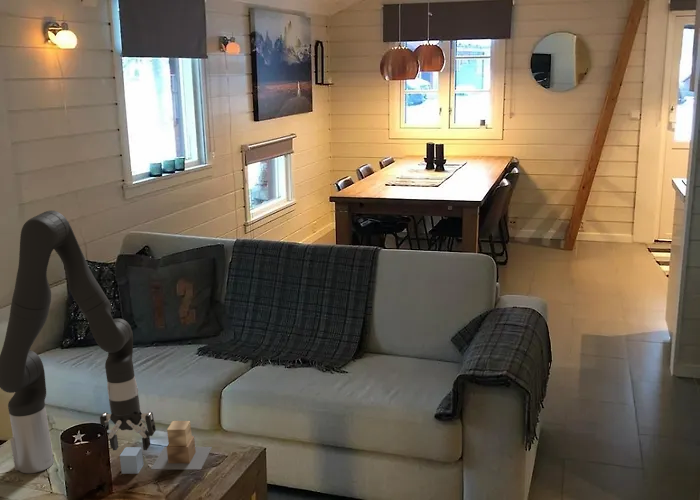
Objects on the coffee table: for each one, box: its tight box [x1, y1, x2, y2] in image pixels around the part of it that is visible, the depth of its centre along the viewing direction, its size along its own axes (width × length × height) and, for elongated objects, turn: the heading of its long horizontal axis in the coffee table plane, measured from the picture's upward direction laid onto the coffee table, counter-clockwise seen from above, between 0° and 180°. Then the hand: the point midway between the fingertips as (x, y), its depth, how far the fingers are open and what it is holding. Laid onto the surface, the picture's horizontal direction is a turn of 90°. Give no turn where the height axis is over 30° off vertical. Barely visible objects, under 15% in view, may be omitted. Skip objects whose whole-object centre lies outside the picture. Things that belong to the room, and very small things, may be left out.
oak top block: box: [167, 420, 193, 446], centre depth 206 cm, size 5×5×5 cm
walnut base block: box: [166, 435, 196, 463], centre depth 208 cm, size 6×6×5 cm
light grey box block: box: [119, 446, 144, 475], centre depth 203 cm, size 4×4×6 cm
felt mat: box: [150, 446, 213, 471], centre depth 208 cm, size 14×12×1 cm
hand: (131, 448), depth 201 cm, fingers open, 8 cm apart
